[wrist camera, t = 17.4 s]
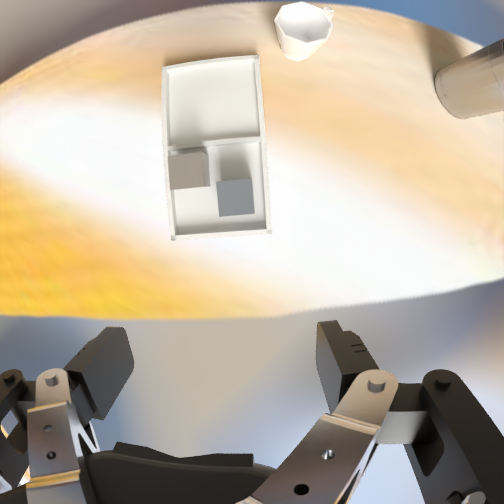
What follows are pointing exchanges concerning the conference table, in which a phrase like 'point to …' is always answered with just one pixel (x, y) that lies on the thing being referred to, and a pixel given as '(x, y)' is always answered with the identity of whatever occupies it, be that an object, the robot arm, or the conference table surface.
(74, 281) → the conference table surface
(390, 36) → the conference table surface
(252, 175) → the divided tray
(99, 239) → the conference table surface
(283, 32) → the cup
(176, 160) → the stone
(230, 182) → the matte grey cube
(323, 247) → the conference table surface
